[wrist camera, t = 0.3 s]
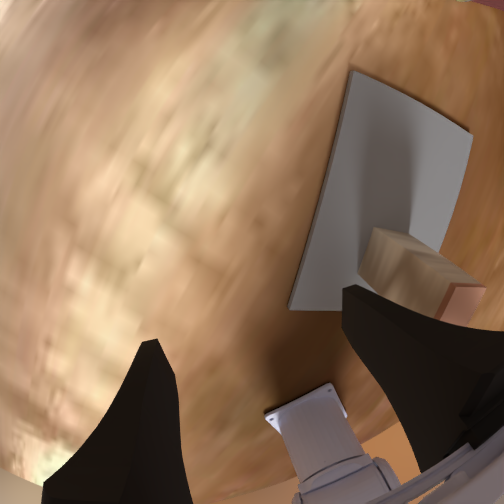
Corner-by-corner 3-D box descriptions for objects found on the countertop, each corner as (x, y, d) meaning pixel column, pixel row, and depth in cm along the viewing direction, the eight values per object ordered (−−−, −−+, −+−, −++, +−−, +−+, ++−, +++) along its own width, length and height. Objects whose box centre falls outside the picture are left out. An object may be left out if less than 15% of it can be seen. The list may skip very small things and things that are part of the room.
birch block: (392, 276, 25) (460, 338, 17) (357, 273, 24) (426, 344, 16) (408, 233, 23) (486, 287, 15) (373, 226, 22) (456, 286, 14)
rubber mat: (410, 307, 28) (413, 309, 28) (287, 306, 24) (289, 310, 23) (469, 135, 21) (473, 136, 21) (350, 71, 17) (353, 70, 17)
